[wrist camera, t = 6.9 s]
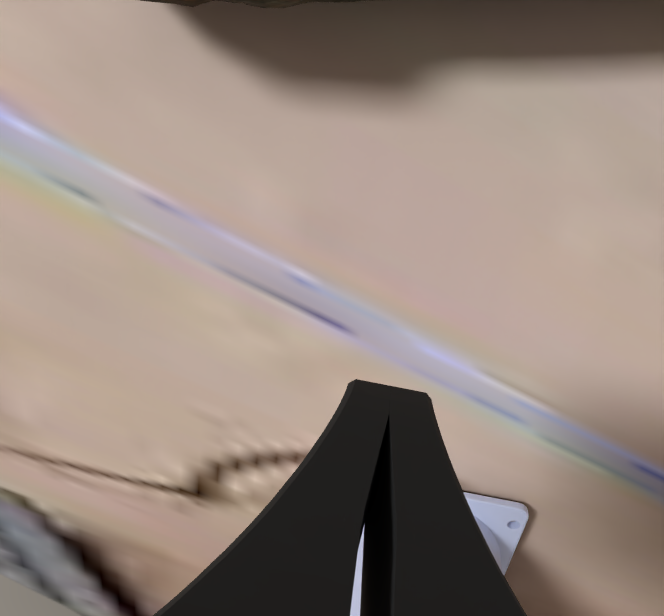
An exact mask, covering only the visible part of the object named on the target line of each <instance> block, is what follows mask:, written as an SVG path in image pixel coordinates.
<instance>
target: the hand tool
mask: <svg viewBox="0 0 664 616" xmlns="http://www.w3.org/2000/svg"><path fill="white" fill-rule="evenodd" d="M141 1H150V2H161V3H174V4H180V5H185V6H191V7H194V6H197V5H200V4H203V3H206V2H210V1H214V0H141ZM219 1H226V2H232V3H244V4H247V5H253V6H258V7H262V8H285V7H289V6H294V5H298V4H302V3H307V2H355V1H371V0H219Z"/></svg>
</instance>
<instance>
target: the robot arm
mask: <svg viewBox="0 0 664 616" xmlns="http://www.w3.org/2000/svg"><path fill="white" fill-rule="evenodd" d="M528 518H529V514H528V509H527V507H526V506H525V505H523V504H521V503H518V502H513V501H508V500H502V499H497V498H492V497H487V496H482V495H477V494H471V493H466V492H463V491H462V488H461V486H460V483H459V481H458V479H457V476H456V474H455V471H454V469H453V466H452V464H451V461H450V459H449V456H448V453H447V450H446V448H445V445H444V442H443V439H442V436H441V433H440V430H439V427H438V424H437V420H436V417H435V413H434V409H433V405H432V401H431V399H430V397H429V396H428V394H427V393H424V392H419V391H414V390H409V389H403V388H398V387H393V386H388V385H383V384H378V383H372V382H367V381H362V380H357V379H356V380H354V381H352V382H350V383H348V386H347V389H346V392H345V394H344V396H343V398H342V400H341V403H340V404H339V406H338V408H337V410H336V412H335V414H334V415H333V417H332V419H331V420H330V422H329V424H328V425H327V427H326V428H325V430H324V432H323V433H322V434H321V436H320V437H319V439H318V440H317V442H316V443H315V445H314V446H313V447H312V449H311V450H310V452H309V453H308V455H307V456H306V457H305V459H304V460H303V462H302V463H301V464H300V466H299V467H298V468H297V469H296V471H295V472H294V473H293V474H292V476H291V477H290V478H289V479H288V481H287V482H286V483H285V484H284V486H283V487H282V488H281V489H280V490H279V492H278V493H277V494H276V495H275V497H274V498H273V499H272V500H271V501H270V503H269V504H268V505H267V506H266V507H265V508H264V509H263V511H262V512H261V513H260V514H259V515H258V516H257V517H256V518H255V519H254V521H253V522H252V523H251V524H250V525H249V526H248V527H247V528H246V529H245V530H244V531H243V532H242V533H241V534H240V535H239V536H238V537H237V539H236V540H235V541H234V542H233V543H232V544H231V545H230V546H229V547H228V548H227V549H226V550H225V551H224V552H223V553H222V554H221V555H220V556H218V557H217V558H216V559H215V560H214V561H213V562H212V563H211V564H210V565H209V566H208V567H207V568H206V569H205V570H204V571H203V572H202V573H201V574H200V575H199V576H198V577H197V578H195V579H194V580H193V581H192V582H191V583H190V584H189V585H188V586H187V587H186V588H185V589H183V590H182V591H181V592H180V593H179V594H178V595H177V596H176V597H174V598H173V599H172V600H171V601H170V602H169V603H168V604H166V605H165V606H164V607H163V608H162V609H160V610H159V611H158V612H157V613H155V614H154V615H153V616H527V615H526V614H525V612H524V610H523V608H522V607H521V605H520V603H519V602H518V600H517V598H516V596H515V595H514V593H513V591H512V589H511V588H510V586H509V584H508V582H507V581H506V579H505V577H504V575H505V573H506V570H507V568H508V566H509V563H510V561H511V559H512V556H513V554H514V552H515V549H516V547H517V544H518V542H519V540H520V537H521V535H522V533H523V530H524V528H525V526H526V523H527V521H528Z"/></svg>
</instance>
